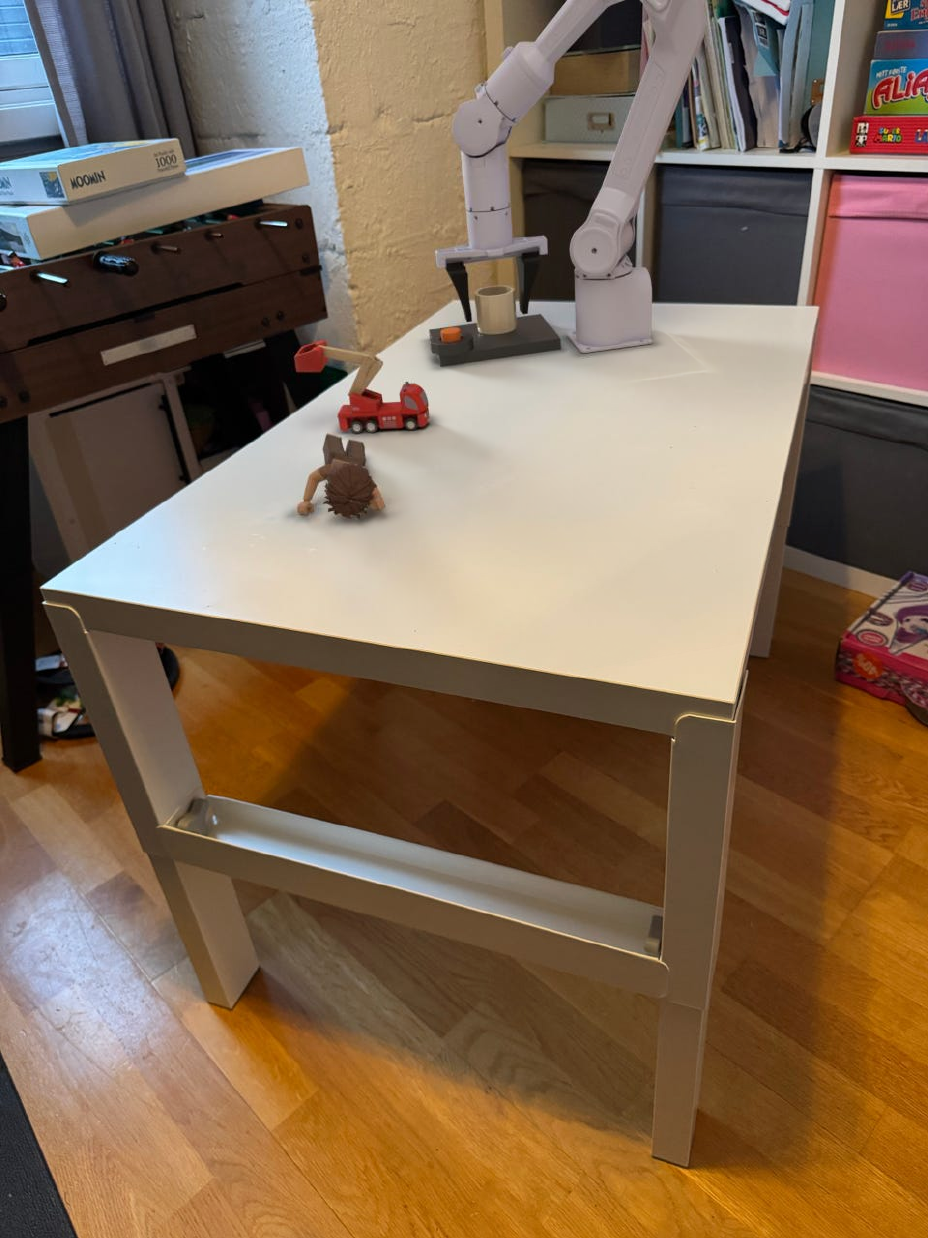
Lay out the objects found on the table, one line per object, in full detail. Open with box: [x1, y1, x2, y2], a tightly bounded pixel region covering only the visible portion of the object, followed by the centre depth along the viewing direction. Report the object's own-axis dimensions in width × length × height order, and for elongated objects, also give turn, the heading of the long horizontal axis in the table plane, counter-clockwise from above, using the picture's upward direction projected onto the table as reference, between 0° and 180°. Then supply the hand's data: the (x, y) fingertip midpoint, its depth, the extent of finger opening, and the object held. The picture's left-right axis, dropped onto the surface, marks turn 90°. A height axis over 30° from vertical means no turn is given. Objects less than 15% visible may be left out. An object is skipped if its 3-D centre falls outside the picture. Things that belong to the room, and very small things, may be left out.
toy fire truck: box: [293, 339, 431, 434], centre depth 97 cm, size 3×14×10 cm, turn 84°
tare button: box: [441, 326, 461, 342], centre depth 114 cm, size 3×3×1 cm
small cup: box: [473, 284, 518, 335], centre depth 119 cm, size 5×6×5 cm
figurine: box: [296, 432, 386, 520], centre depth 85 cm, size 8×5×15 cm
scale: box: [428, 313, 562, 368], centre depth 118 cm, size 17×13×3 cm
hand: (496, 315), depth 119 cm, fingers open, 7 cm apart
